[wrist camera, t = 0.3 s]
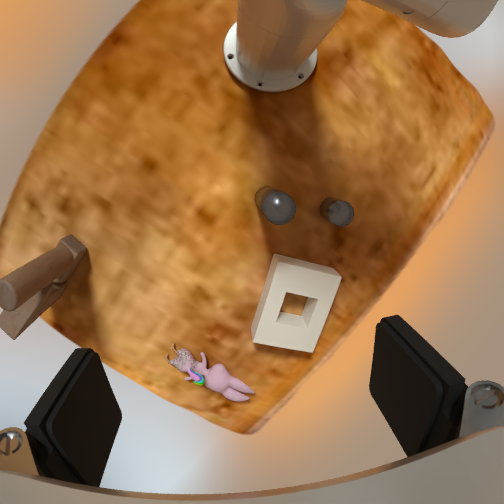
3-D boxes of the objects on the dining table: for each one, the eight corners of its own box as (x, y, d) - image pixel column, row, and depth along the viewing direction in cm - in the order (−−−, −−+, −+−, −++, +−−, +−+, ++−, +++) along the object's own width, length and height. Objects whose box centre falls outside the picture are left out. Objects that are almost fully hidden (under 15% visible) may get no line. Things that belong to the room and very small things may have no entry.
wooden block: (44, 284, 42) (-22, 336, 25) (71, 232, 41) (-3, 271, 23) (60, 298, 43) (-1, 356, 26) (89, 248, 42) (21, 295, 24)
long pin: (258, 183, 41) (268, 188, 30) (281, 189, 41) (299, 197, 31) (252, 206, 42) (259, 220, 31) (275, 212, 42) (290, 228, 32)
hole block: (273, 253, 44) (278, 261, 40) (332, 267, 45) (341, 277, 41) (250, 328, 46) (252, 342, 43) (306, 338, 48) (312, 352, 44)
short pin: (323, 194, 42) (334, 198, 38) (344, 201, 42) (356, 205, 38) (317, 216, 43) (326, 222, 38) (337, 223, 43) (349, 229, 39)
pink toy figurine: (164, 358, 49) (242, 401, 49) (152, 376, 43) (239, 424, 43) (180, 330, 47) (262, 377, 48) (168, 347, 42) (260, 398, 42)
